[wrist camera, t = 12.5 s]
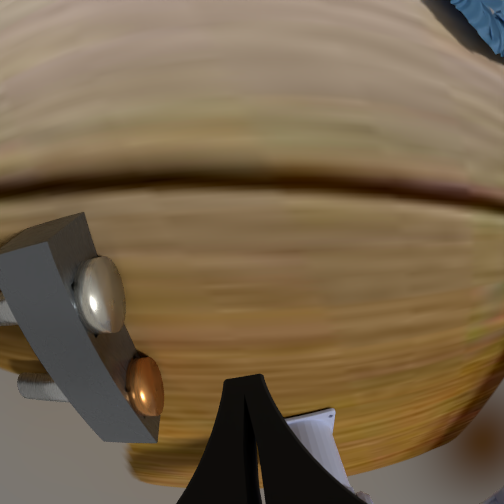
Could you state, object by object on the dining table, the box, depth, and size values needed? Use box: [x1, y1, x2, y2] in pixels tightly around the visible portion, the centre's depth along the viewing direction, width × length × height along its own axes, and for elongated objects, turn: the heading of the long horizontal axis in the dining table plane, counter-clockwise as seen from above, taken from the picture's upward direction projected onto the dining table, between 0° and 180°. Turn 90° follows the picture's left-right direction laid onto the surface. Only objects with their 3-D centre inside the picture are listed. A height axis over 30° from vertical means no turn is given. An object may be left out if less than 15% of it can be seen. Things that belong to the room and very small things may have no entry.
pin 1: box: [0, 256, 126, 334], centre depth 15 cm, size 13×4×4 cm, turn 98°
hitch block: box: [0, 212, 160, 443], centre depth 17 cm, size 17×5×5 cm, turn 8°
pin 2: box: [17, 357, 164, 416], centre depth 19 cm, size 13×4×4 cm, turn 98°
